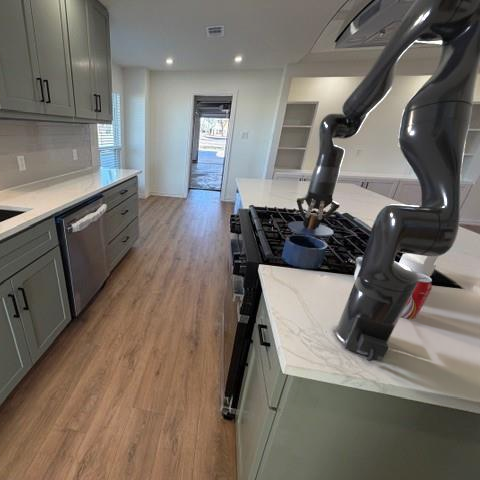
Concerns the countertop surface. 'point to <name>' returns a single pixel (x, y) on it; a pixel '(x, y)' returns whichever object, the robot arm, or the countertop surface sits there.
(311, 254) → the pot
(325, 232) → the pot lid
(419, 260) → the cylinder with rectangular tab
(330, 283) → the countertop surface
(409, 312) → the soda can
